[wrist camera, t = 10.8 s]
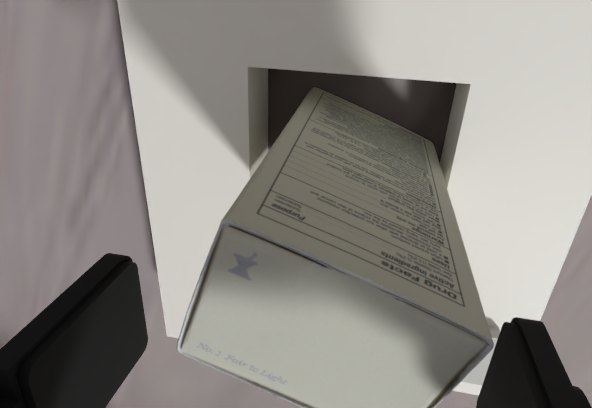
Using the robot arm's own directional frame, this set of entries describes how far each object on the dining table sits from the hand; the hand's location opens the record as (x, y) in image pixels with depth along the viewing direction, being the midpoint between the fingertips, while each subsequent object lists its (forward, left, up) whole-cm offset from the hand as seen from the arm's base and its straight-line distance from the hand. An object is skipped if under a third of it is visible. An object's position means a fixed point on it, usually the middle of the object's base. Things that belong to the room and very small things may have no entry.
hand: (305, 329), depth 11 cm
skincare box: (+1, 0, -11) cm, 11 cm away
